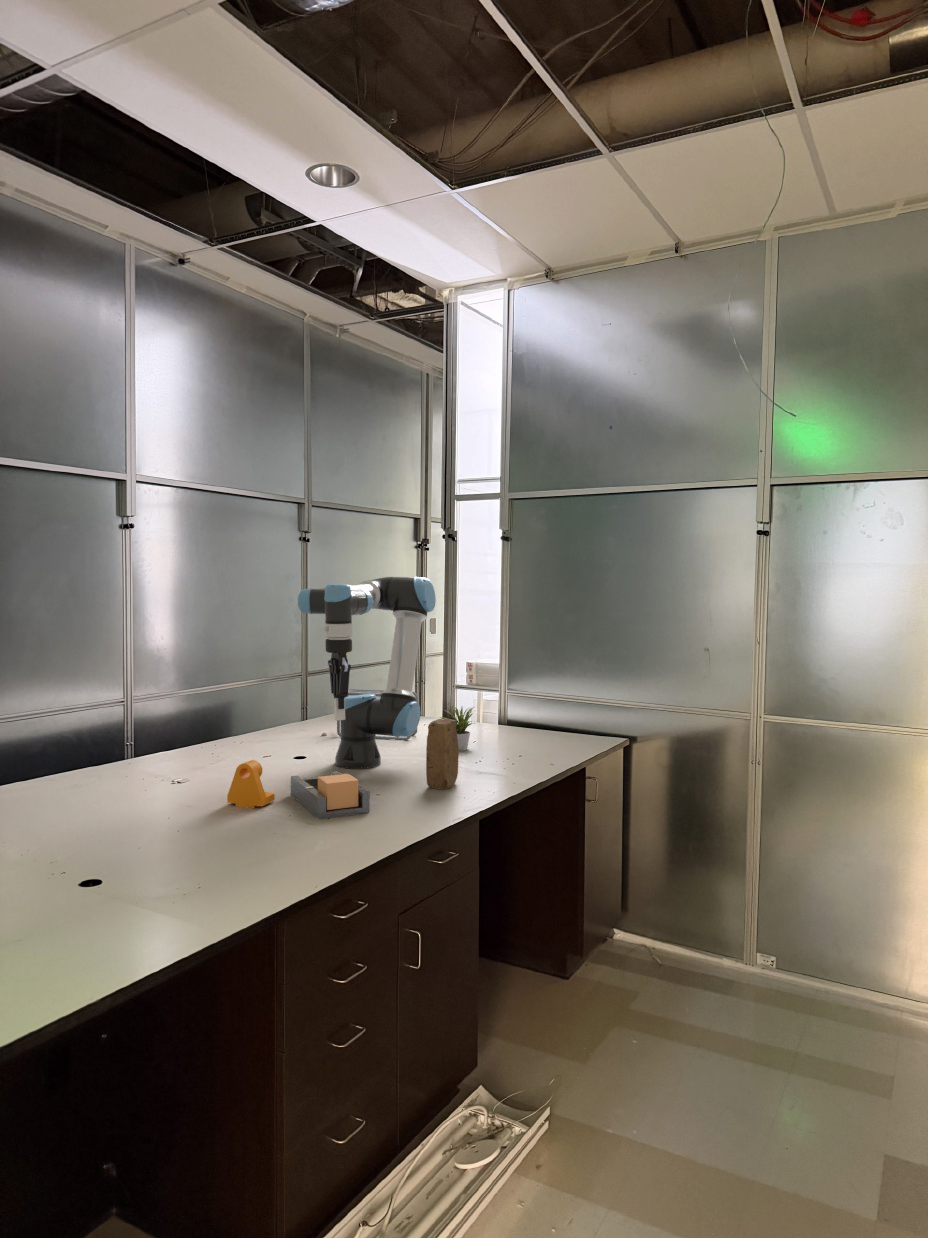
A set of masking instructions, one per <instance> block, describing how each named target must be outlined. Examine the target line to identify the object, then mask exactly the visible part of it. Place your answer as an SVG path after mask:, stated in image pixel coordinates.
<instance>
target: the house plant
mask: <svg viewBox="0 0 928 1238" xmlns="http://www.w3.org/2000/svg"><path fill="white" fill-rule="evenodd" d="M451 708H452V710H453V711H454V713H455V715H454V713H452V712H450V711H449V710H446V709H445V712H446V713H448V714H449V715H450V716H451V717H452V718H453V720H454V721H455V723H456V732H457V736H458V752H460V751H467V750H468V748H469V742H470V735H471V732H470V731H468V730H467V728H468V727H469V726H471V725H473V724H475V725H476V724H477V723H475V722H472V721H470V718H471V717H472V715H473V714H474V713H475V711H473V710H474V708H476V707H475V706H473V707H468V708H466V709H465V710H463V706H461V709H460V710H459V709H458V708H457V707H456V706H453V707H451ZM463 712H464V713H463ZM439 719H449V718H448V717H442V716H439Z"/></svg>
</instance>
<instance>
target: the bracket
mask: <svg viewBox="0 0 928 1238" xmlns="http://www.w3.org/2000/svg"><path fill="white" fill-rule="evenodd" d="M262 774H263V767H262V764H261V763H260V762H259V761H258V760H255V759H251V760H248V761H246V762H243V763H241V764H239V765H238V766H237V767H236V769H235V772H234V775H233V777H232V781H231V784H230V787H229V790H228V793H227V794H226V795H227V799H226V800H227V802H226V803H228V804H235V807H237V806H238V808H247V807H248V809H249V808H250V809H256V808H257V807H264V806H266V805H268V804H270V803H272V802H273V801H275V796H276V795H275V792H271V791H265V789H264V787H263V783H262V781H261V777H262Z"/></svg>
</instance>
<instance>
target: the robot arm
mask: <svg viewBox="0 0 928 1238" xmlns="http://www.w3.org/2000/svg"><path fill="white" fill-rule="evenodd" d="M297 606H298V609H299V611H300V612H301V613H304V614H310V615H313V614H314V615H325V616H324V617H325V618H324V619H325V621H324V622H325V624H324V625H325V626H324V627H323V631H325V637H326V639H325V640H324V641H325V642H324V643H325V652H326V653H330V659H328V660H327V665H328V668H329V669H328V671H329V681H330V691H331V692H330V693H331V695H333V698H334V699H333V700H334V703H333V707H334V721H336V722H337V720H340V733H341V737H340V742H339V744H338V748H337V752H336V755H335V758H334V759H335V760H334V765H335V766H336V767H339V768H343V769H353V770H356V769H357V770H358V769H359V770H360V769H371V768H375V767H378V766H380V765H381V764H382V762H381V761H382V760H381V758H382V756H381V754H380V751H379V747H378V744H377V742H376V741H377V739H376V736H386V737H408V736H410V735H412V734H413V733H414V731H415V730H416V728H417V729H418V726H419V724H420V721H421V706H420V704H419V702H418V703H417V702H415V701H416V697H415V695H414V694H413V693H412V691H413V687H414V681H415V675H416V673H415V672H416V665H417V658H418V651H419V644H420V636H421V630H422V623H423V622H424V621H426V620H427V618H428V613H431V612H433V611H434V610H435V607H436V593H435V587H434V585H433V583H432V581H431V580H430V579H429V578H427V577H421V576H420V577H419V576H385V577H379V578H374V579H373V578H372V579H369V580H363V581H361V582H359V583H358V584H352V585H350V584H349V583H329V584H326V586H325V588H322V587H321V588H305V589H302V590H301V591H300V592H299V593H298V595H297ZM373 609H374V610H383V611H391V612H392V615H393V617H395V626H394V634H393V640H392V647H391V654H390V662H389V668H388V676H387V681H386V688H385V689H384V691H383V692H382V693H380V694H381V696H380V697H379V698H377V696H376V695H375V694H363V695H348V690H349V687H350V686H349V685H350V684H349V683H350V672H351V668H352V667H351V666H352V665H351V664H349V661H348V656H347V653H351V652H352V651H353V640H352V637H353V621H352V619H353V617H352V616H357V615H359V616H360V615H365V614H367V613H369V612H370V611H371V610H373ZM346 696H348V697H346Z"/></svg>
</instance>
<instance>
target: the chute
mask: <svg viewBox="0 0 928 1238" xmlns="http://www.w3.org/2000/svg"><path fill="white" fill-rule="evenodd" d="M341 774H342V773H341V772H339V771H331V772H330V775H329V776H331V775H341ZM318 777H319V776H313V777H304V778H301V777H300V776H299V775H291V776H290V796H291V797H292V796H293V797H294V798H293V797H292V798H293V799H295V800H296V801H297V802H298V803H299V804H300V805H301V806H302V807H304V809H306V810H307V811H308V812H310V814H312V815H313V816H314V817H315V816H316V817H315V818H316V819H318V820H325V819H330V818H331V817H332V818H339V816H340V817H344V816H345V817H346V815H347V816H353V814H355V815H361V813H363V814H369V812H370V811H371V810H370V807H371V806H370V805H371V804H370V802H371V801H370V795H371V793H370V791H368V789H366V788H364V787H362V786H361V785H360V784H358V806H356V807H348V808H340V809H333V810H326V797H325V796H324V795H322V794H321V793H320V792H318ZM320 777H322V776H321V775H320Z"/></svg>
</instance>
